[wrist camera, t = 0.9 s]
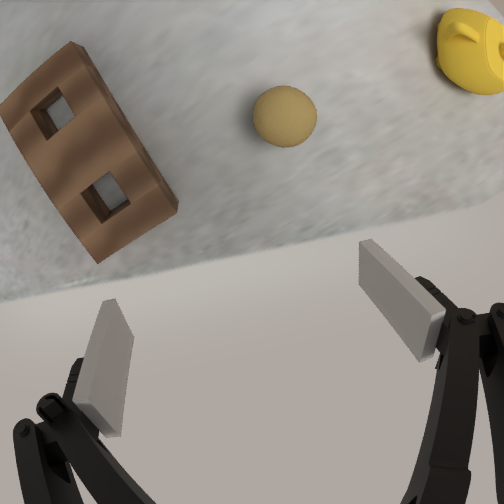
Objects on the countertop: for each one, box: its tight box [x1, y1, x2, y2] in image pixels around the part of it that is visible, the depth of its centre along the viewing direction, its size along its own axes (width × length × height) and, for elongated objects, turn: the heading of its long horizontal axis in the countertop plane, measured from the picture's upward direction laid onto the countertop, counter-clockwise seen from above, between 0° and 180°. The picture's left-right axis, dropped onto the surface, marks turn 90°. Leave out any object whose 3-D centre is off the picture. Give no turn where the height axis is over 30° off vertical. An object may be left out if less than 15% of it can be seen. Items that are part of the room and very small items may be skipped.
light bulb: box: [253, 86, 317, 147], centre depth 31 cm, size 6×6×10 cm
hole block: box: [0, 41, 179, 264], centre depth 32 cm, size 24×12×4 cm, turn 28°
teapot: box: [436, 8, 504, 95], centre depth 29 cm, size 13×20×12 cm
